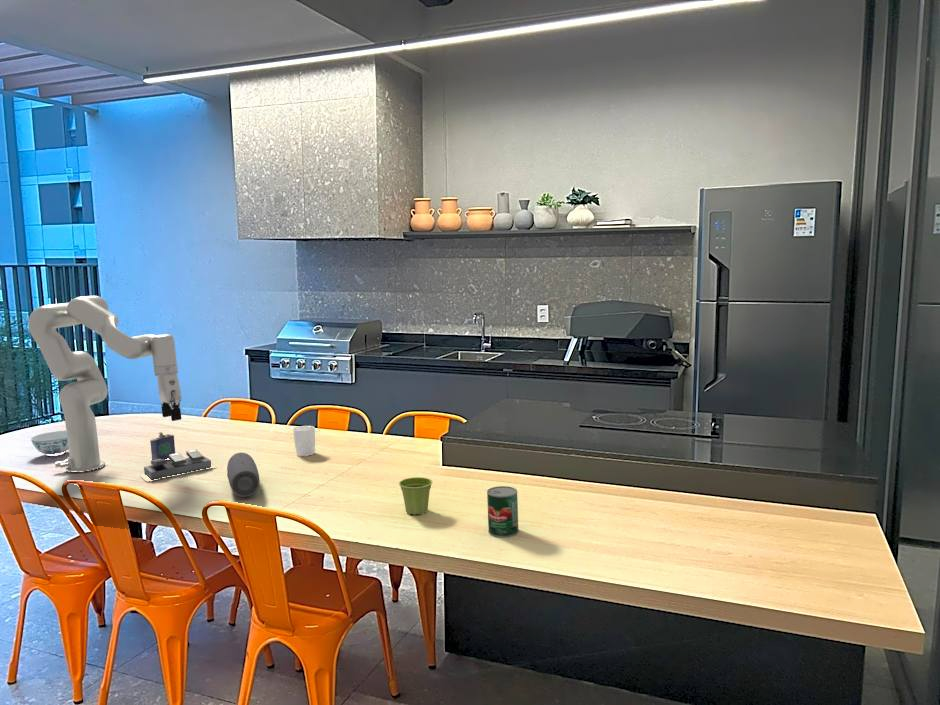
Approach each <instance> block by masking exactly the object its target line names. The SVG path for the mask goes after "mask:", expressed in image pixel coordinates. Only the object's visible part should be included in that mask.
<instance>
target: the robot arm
mask: <svg viewBox="0 0 940 705" xmlns="http://www.w3.org/2000/svg"><path fill="white" fill-rule="evenodd" d="M27 324H28V329H29V330H28V331H29V332H30V336H31V337H32V338H33V340H34V341H35V344H36V345H37V346H38V348H39V350H40V352H41V354H42V357H43V358H44V360H45V362H46V364H47V367H48V368H49V371H50V373H51V374H52V376H53V378H54V379H55V380H57V381H60V382H64V381H66V382H67V381H70V380H75V379H76V381H74V382H70V383H68V384H66V385H65V386H63V387H62V388H61V390H60V391H59V394H58V399H59V403H60V407H61V409H62V411H63V412H62V413H63V416H64V423H65V428H66V430H65V431H67V440H68V448H69V449H68V455H69V456H67V458H66V459H64V460H63V461H56V462H54V466H55V468H56V469H57V468H65V471H66V470H68V471H87V470H93V469H97V468H100V467H102V466H104V465H105V466H106V462H105V460H102V459H101V457H100V456H101V454H100V448H99V439H98V438H99V437H98V431H97V428H98V427H97V421H96V416H95V414H94V412H93V410H92V409H91V407H90V406H92V405H95V404H99V403H101V402H102V401H104V400H105V399H106V398H107V396H108V386H107V383H106V381H105V379H104V377H103V374H102V373H101V370H100V368H99V366H98V364H97V363H96V360H95V359H94V357H93V356H92V355H91V354H89V353H88V352H86V351H84V350H83V351H82V350H79V351H78V350H77V351H72V350H71V348H70V346H69V345H68V342H67V341H66V339H65V338H64V337H63V335H62V334H61V333H59V332H58V331H57V329H59V328H60V329H61V328H66V327H72V326H78V325H81V324H82V325H83V326H85V327H86V328H88V329H90V330H91V331H93V332H94V333H96V334H98V335H100V337H101V340H102V341H103V342H104V344H105V345H106V347H107V348H108V349H110V350H111V351H113V352H114V353H116V354H118V355H119V356H121V357H123V358H125V359H129V360H137V359H140V358H145V357H150V356H152V363H153V364H152V366H153V371H154V377H157V387H158V389H157V390H158V395H159V401H161V402H160V406H161V413H162V418H167V417H168V418H169V417H171V418H170V419H171V421H172V422H175V421H181V420H182V412H181V403H180V402H181V401H183V399H182V393H181V392H182V391H181V386H180V381H179V377H178V373H179V369H178V360H177V352H176V346H175V345H176V344H175V338H174V336H173V334H169V333H165V334H157V335H156V334H142V335H135V336H129V335H128V334H126V333H124V332H123V331H121V330H120V329H118V325H119V317H118V316H117V315H116V314H115V313H113V312H111V311H109V305H108V303H107V301H106V299H104V298H103V297H101V296H98V295H86V296H85V295H83V296H77V297H74V298H73V299H71V300H70V301H68V302H64V303H63V302H62V303H51V304H46V305H45V304H44V305H41V306H39V307H37V308H35V309H33V311H32V312H31V313H30V315H29V318H28V323H27ZM105 466H104V467H105ZM102 468H103V467H102ZM100 469H101V468H100ZM97 470H98V469H97ZM93 471H94V470H93Z"/></svg>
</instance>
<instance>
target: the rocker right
mask: <svg viewBox="0 0 940 705" xmlns="http://www.w3.org/2000/svg"><path fill="white" fill-rule="evenodd" d="M185 453H186V454H185V455H186V456H187V458H190V459H191V460H192V461H197V460H202V459H203V456H204V455H203V454H202V453H201V452H200V451H199V450H198V449H191V450H186V452H185Z"/></svg>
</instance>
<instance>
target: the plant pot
mask: <svg viewBox="0 0 940 705" xmlns="http://www.w3.org/2000/svg"><path fill="white" fill-rule="evenodd" d="M432 484H433V480H432V479H431V478H427V477H419V476H418V477H417V476H416V477H408V478H404V479H402V480H400V481H399V482H398V485H399V487H400V489H401V492H402V497H403V501H404V502H403V503H404V509H405V512H407V513H406V514H407V515H410V514H413V515H412V516H414V515H419V514H421V515H424V514H427V512H428V510H429V500H430V499H429V498H430V491H431V488H432ZM423 513H424V514H423Z"/></svg>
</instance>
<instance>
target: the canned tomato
mask: <svg viewBox="0 0 940 705" xmlns="http://www.w3.org/2000/svg"><path fill="white" fill-rule="evenodd" d="M486 494H487V498H486V499H487V523H488V524H487V525H488V526H487V527H488V534H489V535H490V536H493V537H495V538H510V537H515V536H516V535H518V534H519V533H520V532H519V506H518V505H519V504H518V502H519V500H518V490H517V488H515V487H512V486H508V485H507V486H506V485H505V486H504V485H503V486H502V485H501V486H494V487H493V486H492V487H490V488H488V489H487V491H486Z"/></svg>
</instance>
